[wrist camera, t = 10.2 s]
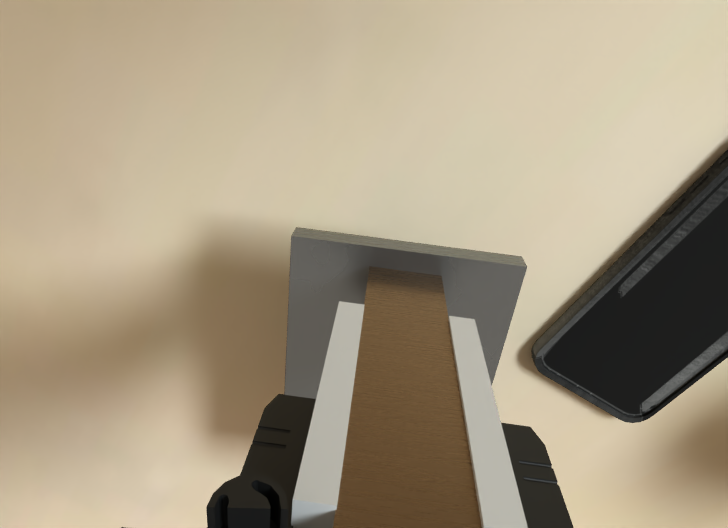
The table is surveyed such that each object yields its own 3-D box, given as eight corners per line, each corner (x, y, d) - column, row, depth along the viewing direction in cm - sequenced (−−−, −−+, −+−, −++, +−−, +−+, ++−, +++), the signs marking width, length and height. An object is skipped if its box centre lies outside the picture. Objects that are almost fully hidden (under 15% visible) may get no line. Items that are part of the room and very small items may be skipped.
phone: (908, 215, 20) (636, 429, 26) (884, 206, 21) (627, 414, 27) (780, 110, 18) (524, 363, 24) (760, 106, 19) (519, 350, 25)
